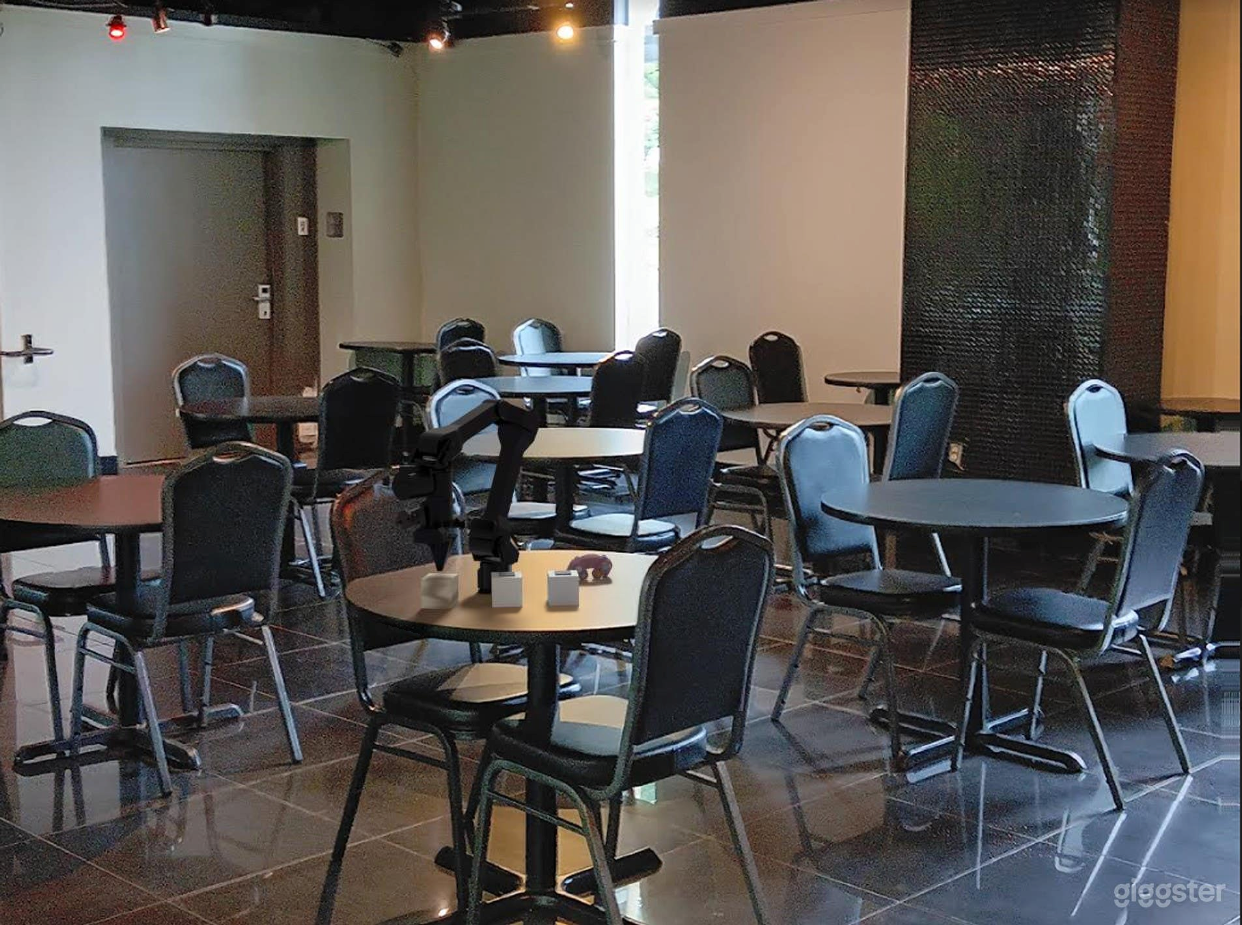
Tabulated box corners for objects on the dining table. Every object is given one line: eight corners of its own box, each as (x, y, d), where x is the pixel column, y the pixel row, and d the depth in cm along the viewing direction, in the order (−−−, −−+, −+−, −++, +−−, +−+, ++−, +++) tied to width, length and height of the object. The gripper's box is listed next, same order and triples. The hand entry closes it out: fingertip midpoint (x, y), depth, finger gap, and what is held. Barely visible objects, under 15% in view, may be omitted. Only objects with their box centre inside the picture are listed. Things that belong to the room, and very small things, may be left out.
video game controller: (568, 588, 333) (572, 562, 329) (563, 575, 337) (567, 549, 333) (612, 585, 336) (616, 559, 332) (606, 572, 340) (610, 547, 336)
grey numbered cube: (576, 598, 316) (576, 568, 315) (579, 605, 310) (578, 574, 309) (547, 599, 315) (547, 569, 314) (549, 606, 309) (549, 575, 308)
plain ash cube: (458, 603, 312) (458, 574, 311) (450, 609, 306) (450, 580, 305) (429, 602, 313) (429, 573, 312) (421, 608, 307) (421, 579, 306)
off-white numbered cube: (521, 600, 314) (520, 570, 314) (522, 606, 308) (522, 576, 308) (491, 601, 314) (491, 570, 313) (492, 607, 308) (492, 576, 307)
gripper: (412, 486, 317) (414, 561, 319) (385, 500, 299) (387, 579, 301) (465, 487, 315) (466, 562, 317) (441, 501, 297) (442, 580, 299)
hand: (440, 570), depth 309 cm, fingers closed
